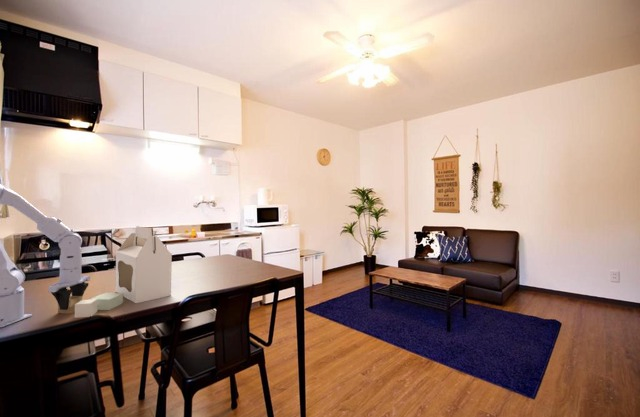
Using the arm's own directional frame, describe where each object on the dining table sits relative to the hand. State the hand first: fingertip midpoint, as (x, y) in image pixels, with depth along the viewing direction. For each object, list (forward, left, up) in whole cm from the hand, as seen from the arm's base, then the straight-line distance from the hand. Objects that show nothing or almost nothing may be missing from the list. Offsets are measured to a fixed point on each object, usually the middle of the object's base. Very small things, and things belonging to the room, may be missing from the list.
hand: (70, 306), depth 99 cm
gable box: (+20, -13, -2) cm, 24 cm away
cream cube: (-3, -8, -2) cm, 9 cm away
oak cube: (0, 0, -1) cm, 1 cm away
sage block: (+5, -9, -2) cm, 10 cm away
